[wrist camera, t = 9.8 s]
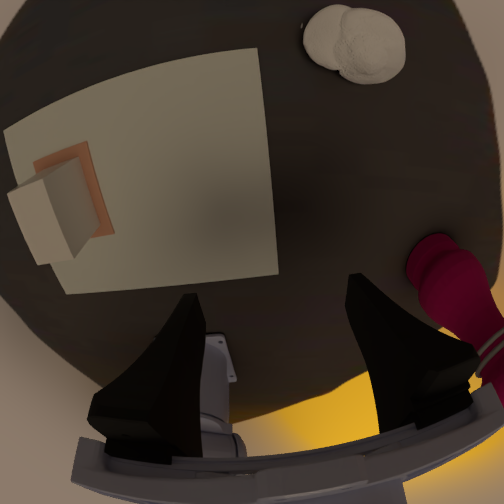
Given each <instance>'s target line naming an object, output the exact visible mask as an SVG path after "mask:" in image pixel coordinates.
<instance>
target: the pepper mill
mask: <svg viewBox="0 0 504 504" xmlns="http://www.w3.org/2000/svg"><path fill="white" fill-rule="evenodd" d="M406 273H407V276H408V278H409V280H410V281H411V283H412V284H413V286H414V287H415V288H416V289H417V290H418V291H419V292H418V296H419V302H420V305H421V307H422V308H423V310H424V311H425V312H426V313H427V315H428V316H429V317H430V318H431V319H432V320H434V321H435V322H436V323H438V324H439V325H441V326H443V327H444V328H446V329H448V330H449V331H451V332H452V333H454V334H455V335H456V336H457V337H458V338H459V339H460V340H461V341H464V342H467V343H470V344H472V345H473V346H474V348H475V350H476V351H477V353H478V355H479V356H480V359H481V362H480V365H479V367H478V368H477V370H476V371H475V372H476V373H475V375H476V377H478V378H482V385H481V387H482V386H484V385H486V384H488V383H489V382H491V383H492V385H493V387H494V389H495V391H496V393H497V395H498V397H499V399H500V401H501V404H502V406H503V408H504V318H503V317H502V315H501V313H500V312H499V310H498V308H497V307H496V304H495V302H494V299H493V297H492V294H491V291H490V288H489V284H488V281H487V277H486V274H485V271H484V269H483V267H482V265H481V264H480V262H479V261H478V260H477V258H476V257H475V256H474V255H473V254H472V253H471V252H469V251H467V250H464V249H459V247H458V245H457V244H456V243H455V242H454V241H453V240H452V239H451V238H450V237H449V236H447V235H446V234H442V233H437V234H432V235H430V236H428V237H426V238H424V239H423V240H422V241H420V242H419V243H418V244H417V245H416V247H415V248H414V249H413V251H412V252H411V254H410V256H409V258H408V261H407V266H406Z"/></svg>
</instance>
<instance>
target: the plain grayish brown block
mask: <svg viewBox="0 0 504 504" xmlns="http://www.w3.org/2000/svg"><path fill="white" fill-rule="evenodd" d="M7 195H8V198H9V201H10V204H11V206H12V209H13V211H14V214H15V217H16V219H17V221H18V224H19V226H20V229H21V231H22V233H23V236H24V238H25V240H26V242H27V244H28V246H29V249H30V251H31V253H32V255H33V257H34V259H35V261H36V263H37V265H41V264H48V263H54V262H60V261H66V260H73V259H75V257H76V256H77V255H78V253H79V252H80V251H81V249H82V248H83V247H84V245H85V244H86V243H87V241H88V240H89V239H90V237H91V236H92V235H93V234H94V232H95V231H96V230H97V229H98V227H99V226H100V225H101V224H100V221H99V219H98V216H97V213H96V210H95V207H94V204H93V202H92V199H91V196H90V192H89V189H88V186H87V183H86V180H85V176H84V173H83V170H82V166H81V163H80V159H79V156H78V157H75V158H72V159H69V160H67V161H64V162H61V163H59V164H56V165H53V166H51V167H48V168H46V169H43V170H42V171H40V172H38V173H37V174H35V175H34V176H32V177H31V178H29V179H28V180H26V181H25V182H23V183H22V184H20V185H19V186H17V187H16V188H14V189H13V190H11V191H10V192H9V193H7Z"/></svg>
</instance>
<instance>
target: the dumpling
mask: <svg viewBox="0 0 504 504" xmlns="http://www.w3.org/2000/svg"><path fill="white" fill-rule="evenodd" d="M301 28H302V24H301ZM303 44H304V47H305V49H306V52H307V53H308V55H309V56H310V58H311V59H312V60H313V61H314V62H316V63H317V64H319V65H321V66H323V67H325V68H328V69H331V70H339V71H340V75H342V76H343V77H344V78H345V79H347V80H349V81H351V82H354V83H358V84H362V85H364V84H373V83H374V84H376V83H382V82H386V81H388V80H389V79H391V78H393V77H394V76H396V75H397V74H398V73H399V72H400V70H401V69H402V68H403V66H404V63H405V40H404V36H403V34H402V32H401V30H400V28H399V26H398V25H397V24H396V23H395V22H394V21H393V20H392V19H391V18H390V17H388V16H387V15H385V14H383V13H381V12H379V11H374V10H371V9H365V8H350V7H347V6H344V5H331V6H328V7H326V8H323V9H322V10H320V11H319V12H317V13H316V14H315V15H314V16H313V17H312V18H311V19H310V21H309V23H308V24H307V26H306V28H305V30H304V36H303Z"/></svg>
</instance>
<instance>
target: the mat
mask: <svg viewBox="0 0 504 504" xmlns="http://www.w3.org/2000/svg"><path fill="white" fill-rule="evenodd" d="M4 136H5V140H6V144H7V149H8V152H9V156H10V160H11V164H12V167H13V171H14V174H15V177H16V180H17V184H18V186H19V185H20V184H22V183H23V182H25V181H26V180H28V179H29V178H31V177H32V176H34V175H35V174H36V172H35V169H34V165H33V162H34V161H36V160H39V159H41V158H43V157H46V156H48V155H50V154H53V153H55V152H58V151H60V150H63V149H65V148H68V147H71V146H73V145H76V144H79V143H82V142H85V141H87V142H88V146H89V150H90V154H91V158H92V162H93V165H94V169H95V172H96V176H97V179H98V183H99V186H100V189H101V193H102V196H103V199H104V202H105V205H106V208H107V211H108V214H109V217H110V220H111V223H112V226H113V229H114V232H115V234H112V235H106V236H100V237H95V238H90V239H89V240H88V241H87V243H86V244H85V245H84V247H83V248H82V249H81V251H80V252H79V253H78V255H77V256H76V257H75V259H73V260H66V261H60V262H54V263H50V264H51V266H52V268H53V270H54V272H55V274H56V276H57V278H58V280H59V282H60V283H61V285H62V287H63V289H64V291H65V292H66V294H78V293H91V292H105V291H117V290H129V289H141V288H152V287H163V286H173V285H184V284H194V283H203V282H213V281H222V280H232V279H241V278H249V277H258V276H267V275H275V274H279V273H278V258H277V245H276V232H275V219H274V207H273V195H272V184H271V173H270V162H269V152H268V141H267V132H266V122H265V112H264V103H263V94H262V85H261V77H260V68H259V60H258V52H257V48H250V49H240V50H232V51H224V52H217V53H211V54H205V55H199V56H194V57H189V58H184V59H179V60H175V61H170V62H166V63H162V64H158V65H154V66H150V67H147V68H143V69H140V70H136V71H133V72H130V73H127V74H124V75H121V76H118V77H115V78H112V79H109V80H106V81H103V82H101V83H98V84H96V85H93V86H90V87H88V88H85V89H83V90H81V91H78V92H76V93H74V94H71V95H69V96H67V97H65V98H63V99H60V100H58V101H56V102H54V103H52V104H50V105H48V106H46V107H44V108H42V109H40V110H38V111H37V112H35V113H33V114H31V115H29V116H27V117H26V118H24V119H22V120H20V121H19V122H17V123H15V124H14V125H12V126H11V127H9V128H7V129H6V130H4Z"/></svg>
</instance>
